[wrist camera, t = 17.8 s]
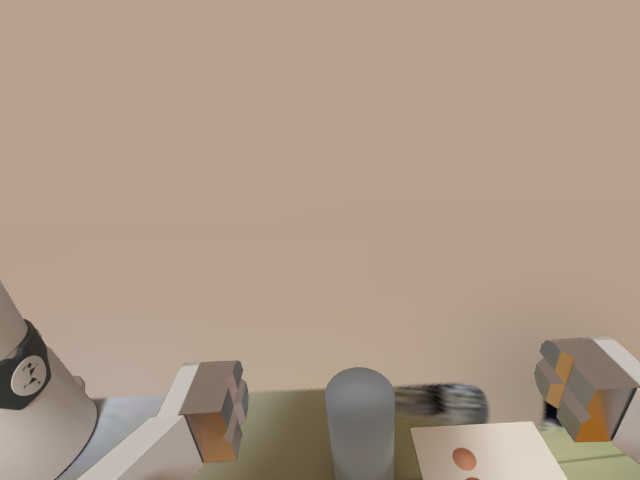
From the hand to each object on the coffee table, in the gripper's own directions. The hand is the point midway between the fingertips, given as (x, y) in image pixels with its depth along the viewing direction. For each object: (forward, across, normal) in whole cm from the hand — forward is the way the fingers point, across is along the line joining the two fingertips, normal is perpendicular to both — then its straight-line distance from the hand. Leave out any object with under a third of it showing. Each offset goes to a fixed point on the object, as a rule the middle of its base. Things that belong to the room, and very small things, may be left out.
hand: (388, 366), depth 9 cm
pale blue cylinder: (+12, 0, -28) cm, 30 cm away
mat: (+12, +12, -28) cm, 33 cm away
